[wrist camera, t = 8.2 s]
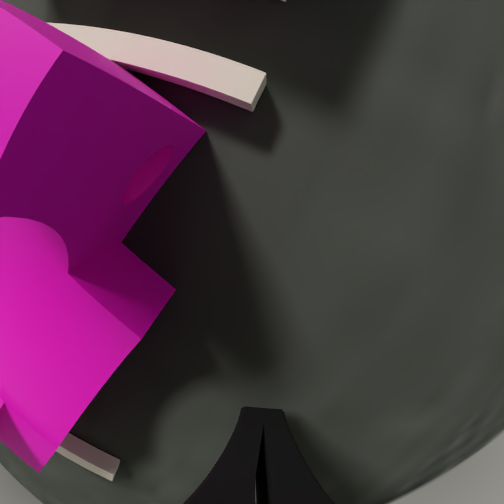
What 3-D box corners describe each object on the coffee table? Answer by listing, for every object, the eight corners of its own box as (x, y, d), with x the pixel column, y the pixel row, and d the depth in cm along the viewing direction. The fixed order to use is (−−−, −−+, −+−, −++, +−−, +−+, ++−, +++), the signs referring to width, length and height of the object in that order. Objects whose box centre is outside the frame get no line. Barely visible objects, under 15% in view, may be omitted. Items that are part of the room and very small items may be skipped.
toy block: (76, 416, 13) (12, 515, 6) (-6, 338, 12) (-91, 409, 5) (267, 182, 10) (276, 221, 2) (127, 71, 9) (-36, -16, 1)
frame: (266, 84, 9) (266, 72, 7) (118, 467, 14) (112, 481, 12) (41, 29, 8) (24, 21, 7) (-12, 383, 13) (-22, 393, 12)
